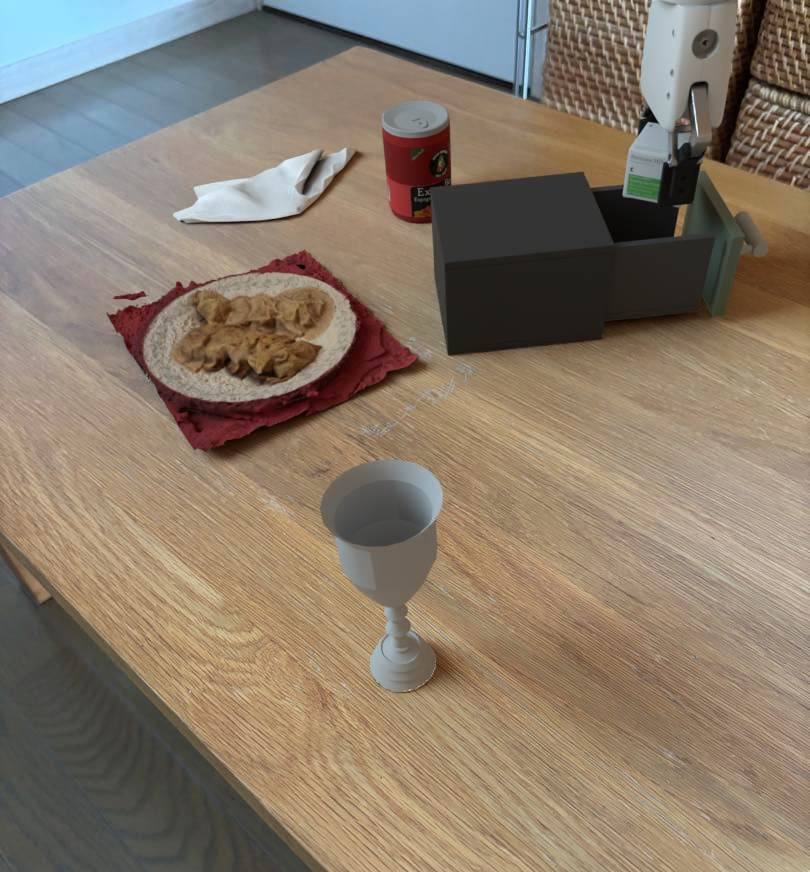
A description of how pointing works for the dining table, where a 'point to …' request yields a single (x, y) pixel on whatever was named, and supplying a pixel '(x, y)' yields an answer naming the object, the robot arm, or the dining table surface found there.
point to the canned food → (415, 156)
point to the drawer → (674, 252)
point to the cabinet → (520, 262)
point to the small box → (648, 162)
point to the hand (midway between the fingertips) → (662, 180)
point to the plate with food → (256, 348)
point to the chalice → (388, 554)
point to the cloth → (267, 190)
